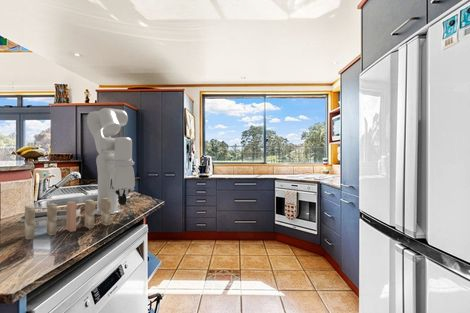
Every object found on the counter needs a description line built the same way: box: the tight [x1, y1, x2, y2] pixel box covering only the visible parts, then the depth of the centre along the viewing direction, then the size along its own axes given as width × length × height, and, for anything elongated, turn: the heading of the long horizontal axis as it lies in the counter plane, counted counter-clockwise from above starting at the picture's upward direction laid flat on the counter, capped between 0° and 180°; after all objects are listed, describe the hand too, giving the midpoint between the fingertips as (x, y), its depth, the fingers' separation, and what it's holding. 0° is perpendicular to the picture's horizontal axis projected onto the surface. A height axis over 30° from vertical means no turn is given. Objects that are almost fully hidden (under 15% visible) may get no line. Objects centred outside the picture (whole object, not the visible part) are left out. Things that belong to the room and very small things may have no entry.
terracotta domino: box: [65, 200, 78, 233], centre depth 99 cm, size 2×5×11 cm, turn 49°
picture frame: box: [19, 208, 81, 223], centre depth 120 cm, size 16×3×21 cm
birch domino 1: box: [24, 205, 36, 240], centre depth 89 cm, size 2×5×11 cm, turn 48°
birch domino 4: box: [100, 198, 112, 226], centre depth 108 cm, size 2×5×11 cm, turn 48°
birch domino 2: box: [46, 202, 58, 236], centre depth 94 cm, size 2×5×11 cm, turn 49°
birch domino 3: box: [84, 199, 96, 229], centre depth 103 cm, size 2×5×11 cm, turn 48°
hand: (122, 204), depth 113 cm, fingers closed
